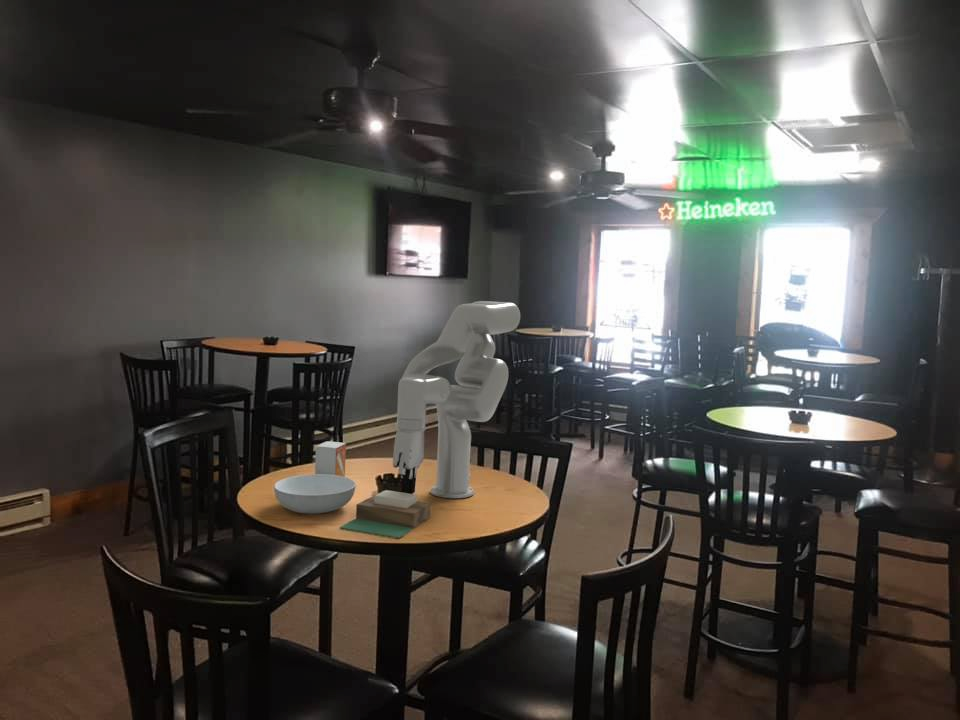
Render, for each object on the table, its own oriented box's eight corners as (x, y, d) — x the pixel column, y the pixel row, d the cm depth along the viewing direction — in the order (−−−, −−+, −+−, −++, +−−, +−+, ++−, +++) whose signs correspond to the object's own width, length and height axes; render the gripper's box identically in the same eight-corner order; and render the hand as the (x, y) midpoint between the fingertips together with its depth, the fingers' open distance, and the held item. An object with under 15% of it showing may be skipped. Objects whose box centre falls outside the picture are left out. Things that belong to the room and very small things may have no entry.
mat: (355, 520, 188) (355, 518, 188) (413, 529, 182) (413, 528, 182) (339, 528, 180) (339, 527, 180) (399, 539, 175) (399, 537, 175)
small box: (334, 493, 211) (336, 448, 210) (313, 491, 212) (315, 446, 211) (345, 486, 219) (346, 442, 218) (325, 484, 220) (326, 440, 219)
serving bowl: (305, 494, 209) (305, 470, 208) (369, 505, 201) (370, 480, 200) (256, 513, 190) (256, 486, 189) (325, 526, 182) (326, 499, 181)
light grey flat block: (385, 497, 195) (385, 490, 195) (416, 502, 192) (416, 494, 191) (374, 503, 189) (374, 495, 189) (406, 508, 186) (406, 500, 186)
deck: (374, 509, 197) (375, 494, 197) (429, 518, 192) (430, 503, 191) (356, 519, 188) (356, 504, 187) (413, 529, 182) (414, 513, 182)
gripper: (410, 419, 204) (407, 484, 206) (385, 427, 190) (382, 497, 192) (435, 421, 201) (432, 488, 203) (411, 430, 187) (408, 501, 189)
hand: (408, 492), depth 197 cm, fingers closed
